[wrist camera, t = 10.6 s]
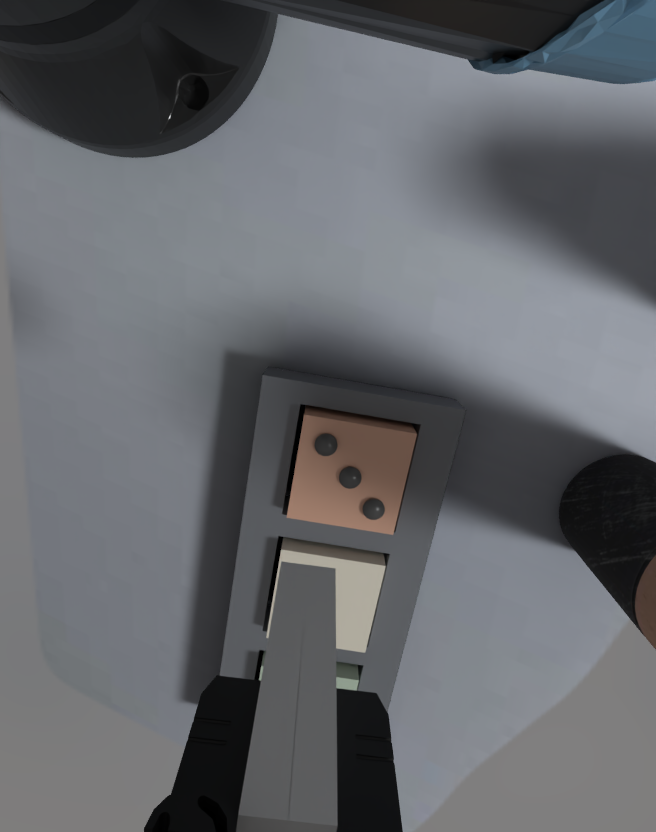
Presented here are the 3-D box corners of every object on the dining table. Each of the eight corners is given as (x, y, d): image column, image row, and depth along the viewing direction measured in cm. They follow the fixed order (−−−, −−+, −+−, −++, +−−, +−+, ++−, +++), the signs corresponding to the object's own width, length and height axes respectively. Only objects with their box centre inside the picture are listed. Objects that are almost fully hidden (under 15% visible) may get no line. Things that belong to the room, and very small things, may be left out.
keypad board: (268, 366, 29) (262, 375, 26) (454, 399, 29) (465, 410, 27) (218, 710, 36) (209, 742, 33) (370, 732, 36) (373, 765, 34)
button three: (306, 400, 29) (303, 415, 26) (408, 418, 29) (417, 435, 26) (290, 494, 31) (286, 519, 27) (387, 510, 31) (393, 536, 28)
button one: (285, 523, 31) (280, 551, 28) (380, 539, 31) (386, 568, 28) (271, 605, 33) (265, 640, 30) (362, 619, 33) (365, 655, 30)
